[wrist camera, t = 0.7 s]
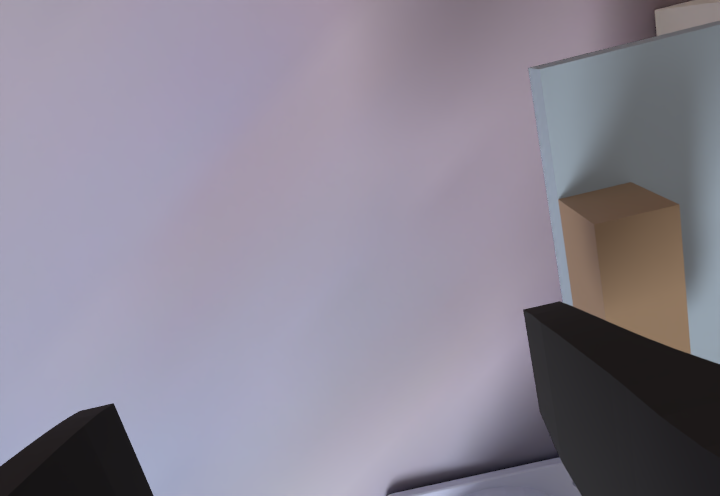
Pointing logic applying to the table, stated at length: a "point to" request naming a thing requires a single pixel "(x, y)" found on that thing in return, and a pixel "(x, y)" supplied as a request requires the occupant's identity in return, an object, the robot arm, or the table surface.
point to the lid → (638, 184)
